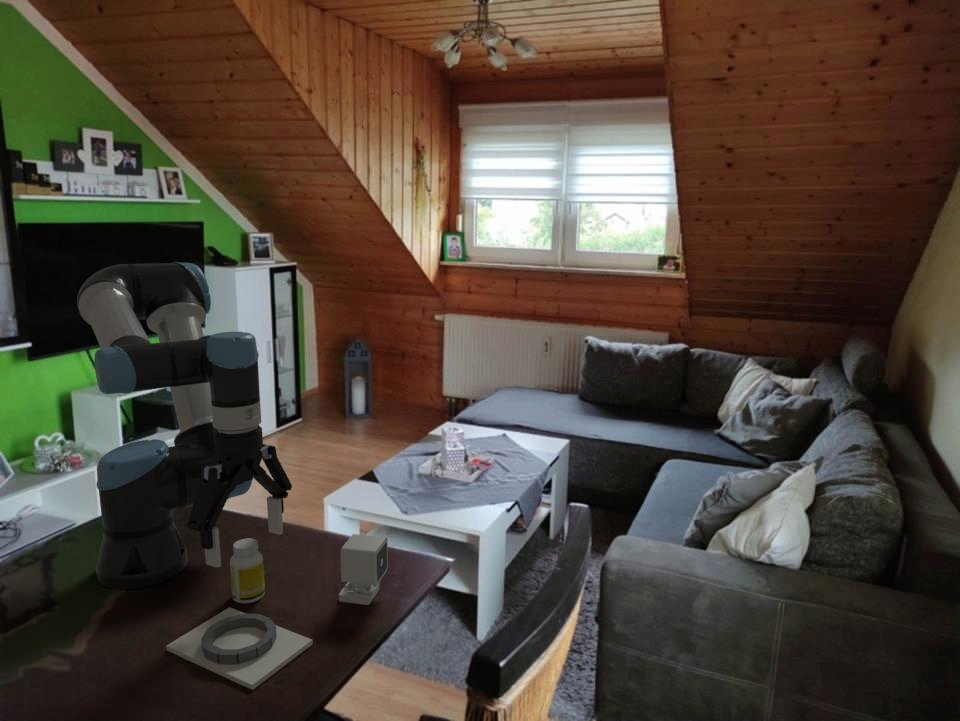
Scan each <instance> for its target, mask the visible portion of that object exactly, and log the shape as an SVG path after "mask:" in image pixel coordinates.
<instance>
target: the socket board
mask: <svg viewBox="0 0 960 721" xmlns="http://www.w3.org/2000/svg"><path fill="white" fill-rule="evenodd" d="M313 644H314V642H313V639H312V638H309V637H306V636H304V635H301V634H299V633H297V632H293V631H292V630H289V629H286V628H284V627H281V626H278V625H276V624H275V622H274V620H273V619H272V618H270V617H268V616H265V615H263V614H260V613H246V612H243V611H240V610H238V609H235V608H232V607H231V606H229V607H228V608H225V609H224V610H223V611H220V612H219V613H218V614H216V615H214V616H213V617H211V618H210V619H208V620H206V621H205V622H203V623H201V624H199V625H198V626H196V627H194V628H193V629H192V630H189V631H188V632H185V633H184V634H183V635H182V636H180V637H178V638H176V639H175V640H173V641H172V642H170V643H169V644H168V643H167V645H166V646H165V647H166V651H168V652H170V653H171V654H174V655H175V656H177V657H180V658H182V659H184V660H187V661H188V662H190V663H194V664H195V665H197V666H200V667H201V668H205V669H206V670H208V671H211V672H213V673H214V674H217V675H219V676H222V677H223V678H225V679H227V680H230V681H232V682H235V683H237V684H238V685H240V686H243V687H245V688H247V689H249V690H252V691H253V690H255V689H256V688H257V687H259V686H260V685H261V684H263V683H264V682H266V681H267V680H268V679H269V678H271V677H272V676H273V675H275V674H277V672H278V671H280V669H283V668H284V667H285V666H286V665H288V664H289V663H290V662H291V661H293V660H294V659H296V658H297V657H298V656H299V655H301V654H302V653H303V652H305V651H306V650H307V649H308V648H310V647H311V646H312V645H313Z"/></svg>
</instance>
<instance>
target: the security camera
mask: <svg viewBox="0 0 960 721" xmlns="http://www.w3.org/2000/svg"><path fill="white" fill-rule="evenodd" d="M388 542H389V541H388V537H387V536H385V537H384V536H379V535H378V536H377V535H367V534H358V533H357V534H356V533H353V534H352V535H351V536H350V537H349V538H348V540H346V542H344V544H343V545H342V546H341V548H340V576H341V582H342V583H345V582H346V584H345V585H344V587H343V588H342V589H341V590H340V591H339V593H338V601H339V602H340V603H349V604H356V605H366V606H369V605H370V604H371V602H372V601H373V600H374V599H375V596H376V595H377V594H378V593H379V590H380V583H381V580H382V579H383V578H384V576H385V575H386V573H387V571H388V569H389V550H388V546H389V545H388V544H389V543H388Z"/></svg>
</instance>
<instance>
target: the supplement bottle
mask: <svg viewBox="0 0 960 721" xmlns="http://www.w3.org/2000/svg"><path fill="white" fill-rule="evenodd" d="M232 549H233V555H231V557H230V559H229V570H230V572H229V574H230V585H231V586H230V587H231V598H232V600H233V601H234V602H235V603H239V604H252V603H254V602H257V601H259V600H261V599H262V598H263V597H264V595H265V593H266V585H265V568H264V567H265V566H264V558H263V557H264V556H263V554H262V553H261V552H260V551H258V550H259V543H258V540H256V539H255V538H247V537H246V538H242V539H239V540H236V541H235V542H234V543H233V544H232Z"/></svg>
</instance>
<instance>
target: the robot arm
mask: <svg viewBox="0 0 960 721" xmlns="http://www.w3.org/2000/svg"><path fill="white" fill-rule="evenodd" d="M211 301H212V299H211V294H210V287H209V285H208V281H207V278H206V275H205V274H204V272H203V271H202V269H201V268H200V267H199V266H198V265H197V264H194V263H191V262H179V261H173V262H170V263H169V262H168V263H167V262H166V263H165V262H164V263H161V262H160V263H128V264H127V263H121V264H114V265H111V266H107V267H104V268H102V269H100V270H99V271H96V272H95V273H94V274H92V275H91V276H90V277H88V278H87V279H86V280H85V281H84V282H83V284H82V285H81V287H80V288H79V290H78V293H77V300H76V305H77V309H78V312H79V314H80V317H81V318H82V319H83V321H85V322H86V323H87V324H88V325H90V326H91V329H92V330H93V332H94V335H95V337H96V340H97V343H98V344H99V347H100V348H98V349H97V350H96V351H95V353H94V357H93V358H94V359H93V360H94V369H95V370H94V371H95V378H96V381H97V386H98V390H99V391H100V392H101V393H103V394H106V395H112V394H113V395H115V394H125V395H126V394H131V393H135V392H136V393H137V392H143V391H149V390H158V389H166V388H170V393H171V397H172V402H173V405H174V406H173V407H174V410H175V414H176V418H177V422H178V423H177V424H178V427H179V432H178V433H177V434H175V437H174V438H173V444H174V446H169V445H168V444H167V442H166V441H164V440H161V439H150V440H149V439H144V440H137V441H134V442H130V443H126V444H123V445H119V446H117V447H115V448H113V449H111V450H110V451H108V452H107V453H105V454H103V456H101V458H100V459H99V460H98V462H97V465H96V478H97V481H96V483H95V484H96V488H97V489H98V492H99V493H98V495H99V503H100V504H99V506H100V514H101V524H102V532H103V533H102V534H103V536H102V541H101V543H100V544H101V545H100V549H99V553H98V559H97V561H96V563H95V571H96V579H97V582H98V583H99V584H100V585H102V586H103V587H105V588H108V589H114V590H133V589H140V588H141V589H142V588H145V587H150V586H154V585H156V584H160V583H162V582H166V581H168V580H169V579H172V578H173V577H175V576H176V575H178V574H179V573H181V572H182V571H183V570H184V569H185V567H186V566H187V564H188V562H189V561H188V552H187V550H188V549H187V547H186V545H185V542H184V540H183V539H182V536H181V535H180V533H179V531H178V529H177V526H176V525H175V521H174V520H175V518H174V511H176V510H180V509H185V508H189V507H191V511H190V514H189V516H188V521H187V525H186V527H187V528H188V529H191V530H194V531H196V532H199V537H200V538H199V539H200V548H202V549H203V550H204V557H205V564H206V565H208V566H211V567H214V568H216V569H217V568H218V569H219V568H220V567H222V557H221V546H220V545H221V544H220V533H219V532H220V531H219V527H215V526H216V524H217V521H218V519H219V517H220V515H221V514H222V511H223V509H224V507H225V505H226V502H227V501H228V500H229V499H231V498H235V497H238V496H242V495H245V494H246V493H247V492H248V491H250V488H251V486H252V483H253V480H255V481H256V482H257V483H258V484H259V485H260V486H262V487H263V489H264V490H265V491H267V492H268V494H269V496H267V497H266V507H267V508H266V509H267V523H268V532H269V533H272V534H275V535H278V536H281V535H283V534H284V526H283V513H284V512H285V511H284V510H285V507H284V505H285V504H284V499H286V498H288V496H289V492H288V491H291V490H292V488H293V484H292V483H291V480H290V479H289V477H288V476H287V473H286V471H285V470H284V468H283V465H282V464H281V462H280V459H279V458H278V453H277V447H276V446H275V445H271V444H267V443H264V436H263V428H262V426H260V425H261V423H262V409H261V407H262V406H261V394H260V376H259V351H258V347H257V340H256V337H255V335H253V334H252V333H250V332H246V331H245V332H243V331H224V332H217V333H214V334H207V335H204V332H203V329H202V324H203V323H204V322H205V321H206V318H207V315H208V314H209V312H210V311H211V305H212V302H211ZM141 320H145V321H146V326H147V327H148V329H149V330H150V331H152V332H153V333H156V334H157V338H158V341H159V342H151V340H150V339H149V337H148V335H147V333H146V332H145V330H144V328H143V326H142V324H141V322H140V321H141ZM262 461H263V463H264V465H265V467H266V468H267V470H268V472H269V474H270V475H269V474H268V473H267V471H266V470H265V469H264V468H263V467H262V466H261V465H260V464H261V462H262Z"/></svg>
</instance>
